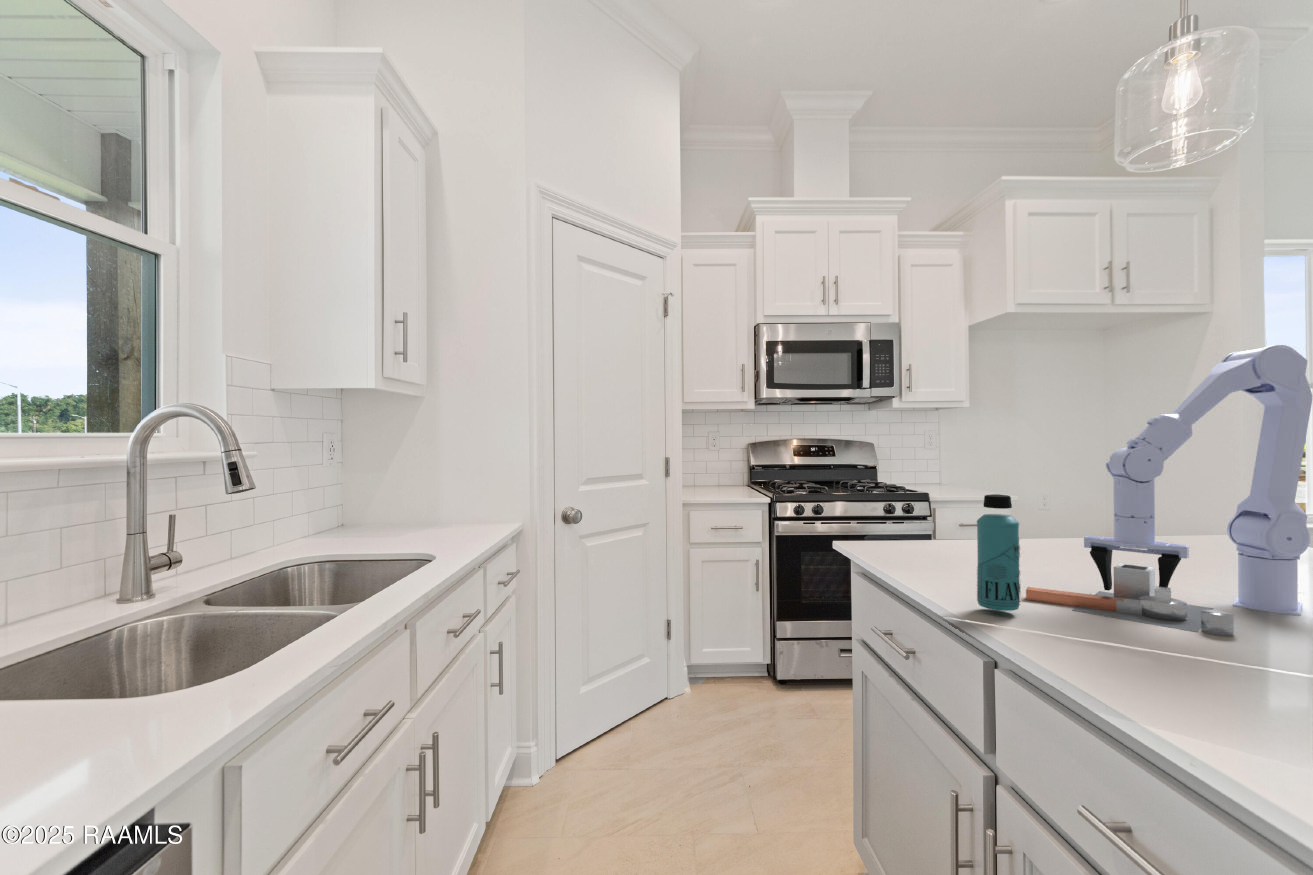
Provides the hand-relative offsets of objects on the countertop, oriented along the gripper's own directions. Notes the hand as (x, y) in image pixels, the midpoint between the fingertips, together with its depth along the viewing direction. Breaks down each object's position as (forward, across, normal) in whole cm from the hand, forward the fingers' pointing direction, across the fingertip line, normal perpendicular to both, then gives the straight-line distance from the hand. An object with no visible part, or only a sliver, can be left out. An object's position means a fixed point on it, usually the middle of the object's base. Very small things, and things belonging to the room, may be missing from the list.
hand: (1134, 593), depth 109 cm
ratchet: (+1, -3, -9) cm, 9 cm away
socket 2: (+2, +12, -12) cm, 17 cm away
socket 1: (+1, 0, 0) cm, 1 cm away
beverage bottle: (+2, -14, -24) cm, 28 cm away
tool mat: (+2, +2, -5) cm, 6 cm away
